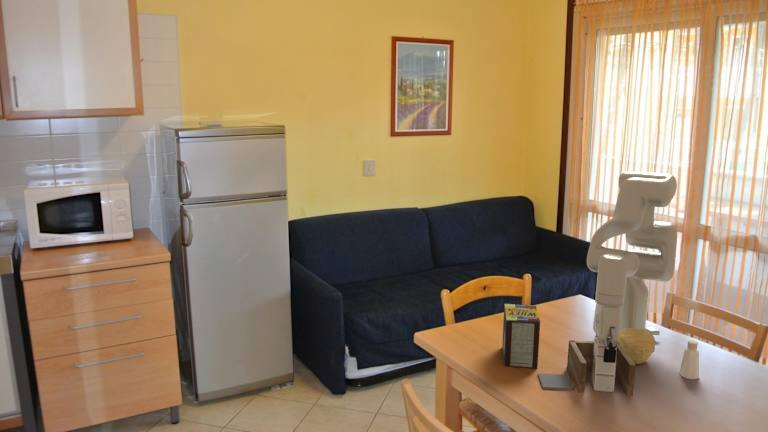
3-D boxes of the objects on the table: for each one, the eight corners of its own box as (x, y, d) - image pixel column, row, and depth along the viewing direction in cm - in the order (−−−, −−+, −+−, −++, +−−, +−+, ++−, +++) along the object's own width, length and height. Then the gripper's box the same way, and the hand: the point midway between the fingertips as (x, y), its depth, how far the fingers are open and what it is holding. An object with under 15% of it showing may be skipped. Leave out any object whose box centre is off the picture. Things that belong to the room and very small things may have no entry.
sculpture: (624, 369, 192) (627, 336, 190) (605, 353, 204) (608, 322, 202) (658, 367, 194) (662, 334, 192) (637, 351, 205) (640, 320, 203)
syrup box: (614, 392, 176) (618, 345, 174) (592, 390, 178) (596, 343, 175) (611, 383, 182) (615, 337, 179) (590, 381, 183) (594, 335, 180)
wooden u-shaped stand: (616, 369, 191) (618, 342, 190) (632, 394, 175) (635, 365, 173) (567, 367, 193) (569, 340, 191) (578, 392, 176) (581, 362, 175)
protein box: (533, 349, 206) (536, 305, 203) (537, 369, 191) (540, 321, 188) (501, 347, 208) (503, 303, 205) (503, 366, 193) (505, 319, 190)
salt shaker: (687, 380, 185) (690, 345, 182) (675, 372, 190) (678, 338, 188) (703, 378, 186) (707, 344, 184) (690, 371, 191) (694, 337, 189)
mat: (568, 376, 186) (568, 374, 186) (574, 390, 177) (574, 388, 177) (537, 375, 187) (537, 373, 187) (542, 388, 178) (542, 387, 178)
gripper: (588, 288, 183) (584, 343, 186) (604, 307, 166) (598, 367, 169) (614, 289, 183) (609, 344, 186) (632, 308, 166) (627, 368, 169)
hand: (604, 355), depth 177 cm, fingers open, 9 cm apart
